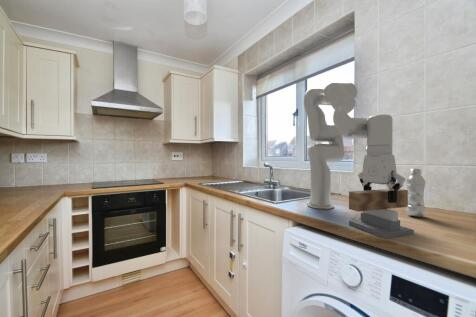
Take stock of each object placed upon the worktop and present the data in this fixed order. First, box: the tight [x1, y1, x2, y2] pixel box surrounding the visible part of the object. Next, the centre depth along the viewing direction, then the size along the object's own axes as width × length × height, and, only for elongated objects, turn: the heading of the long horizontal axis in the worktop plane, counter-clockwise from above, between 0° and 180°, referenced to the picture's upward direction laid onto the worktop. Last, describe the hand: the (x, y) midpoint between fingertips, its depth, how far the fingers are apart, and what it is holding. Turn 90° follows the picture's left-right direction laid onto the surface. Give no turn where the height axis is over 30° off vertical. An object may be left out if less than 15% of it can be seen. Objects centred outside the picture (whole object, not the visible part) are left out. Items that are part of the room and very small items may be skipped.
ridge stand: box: [348, 209, 415, 239], centre depth 79 cm, size 15×12×8 cm
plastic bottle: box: [405, 168, 426, 218], centre depth 95 cm, size 6×7×20 cm
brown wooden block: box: [348, 188, 408, 213], centre depth 79 cm, size 22×4×6 cm, turn 107°
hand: (379, 199), depth 79 cm, fingers open, 9 cm apart
